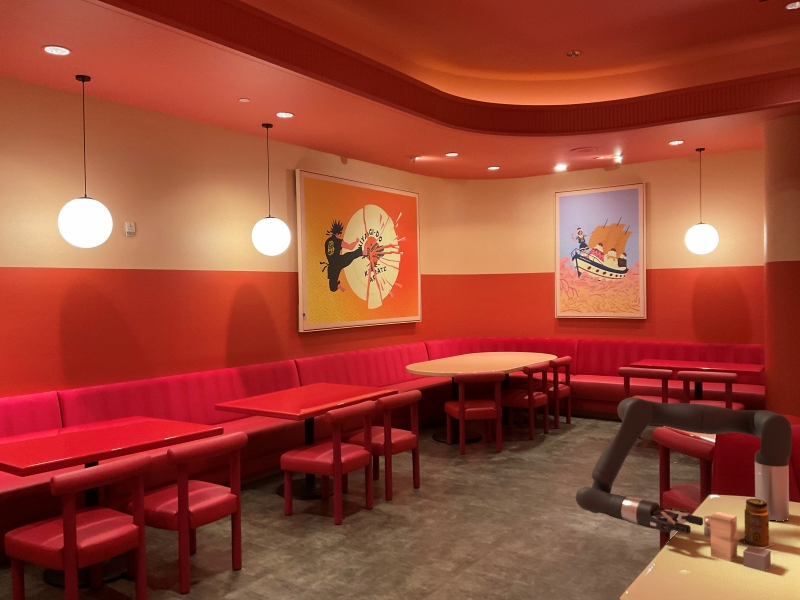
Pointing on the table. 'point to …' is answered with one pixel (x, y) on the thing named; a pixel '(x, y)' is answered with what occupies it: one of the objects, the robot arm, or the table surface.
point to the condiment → (756, 525)
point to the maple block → (723, 536)
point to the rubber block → (757, 558)
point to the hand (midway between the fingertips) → (696, 525)
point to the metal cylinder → (707, 526)
